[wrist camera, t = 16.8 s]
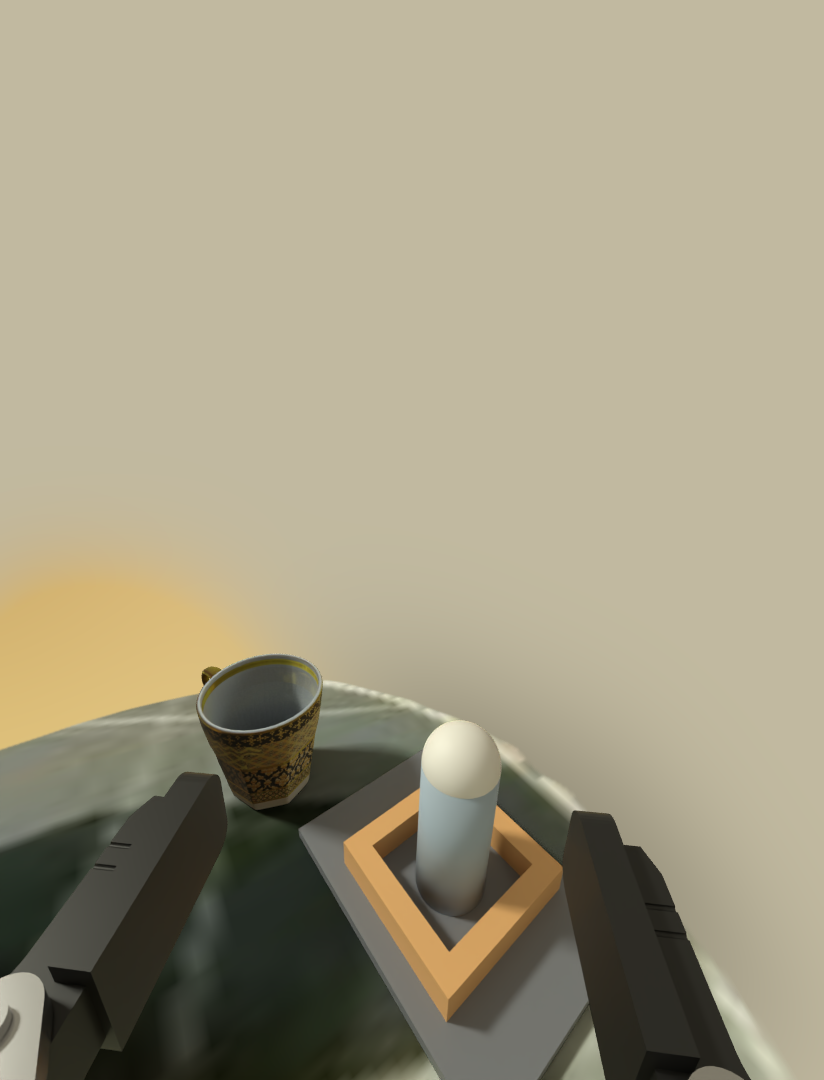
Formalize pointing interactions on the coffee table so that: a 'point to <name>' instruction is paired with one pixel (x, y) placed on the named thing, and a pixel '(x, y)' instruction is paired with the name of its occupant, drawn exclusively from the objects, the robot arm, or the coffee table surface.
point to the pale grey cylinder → (456, 816)
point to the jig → (457, 935)
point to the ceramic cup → (262, 725)
